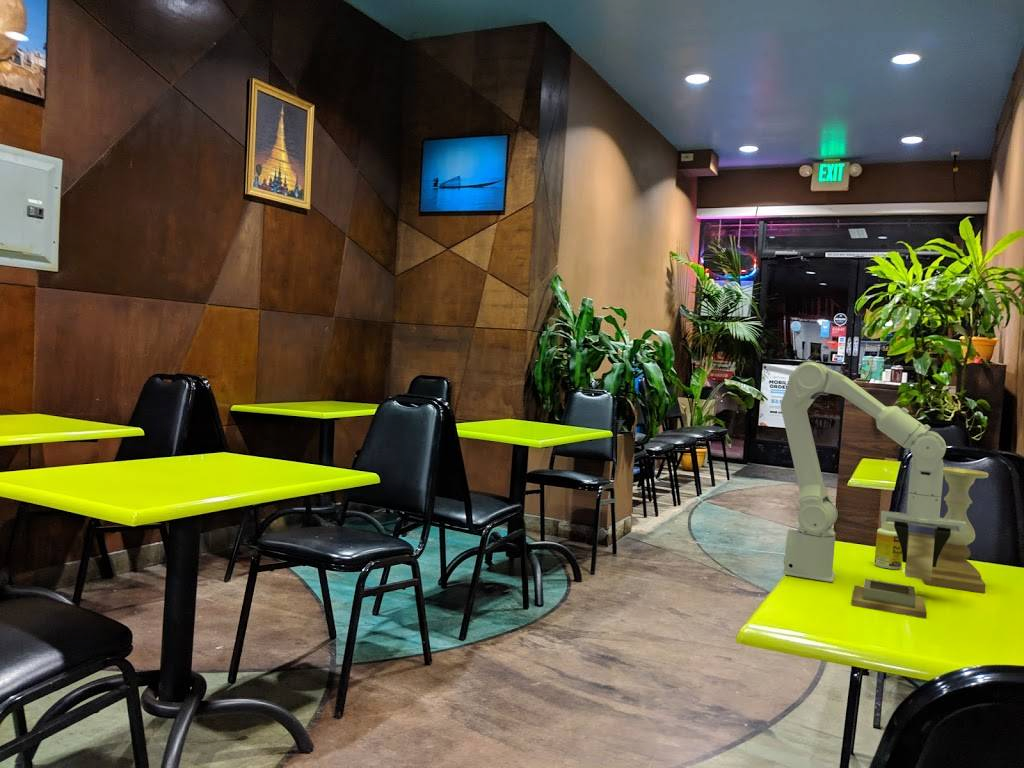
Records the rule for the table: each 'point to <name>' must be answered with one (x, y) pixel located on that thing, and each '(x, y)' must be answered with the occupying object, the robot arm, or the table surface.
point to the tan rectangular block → (919, 556)
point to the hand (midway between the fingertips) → (918, 563)
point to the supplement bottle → (888, 547)
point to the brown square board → (917, 611)
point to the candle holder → (958, 536)
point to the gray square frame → (889, 593)
